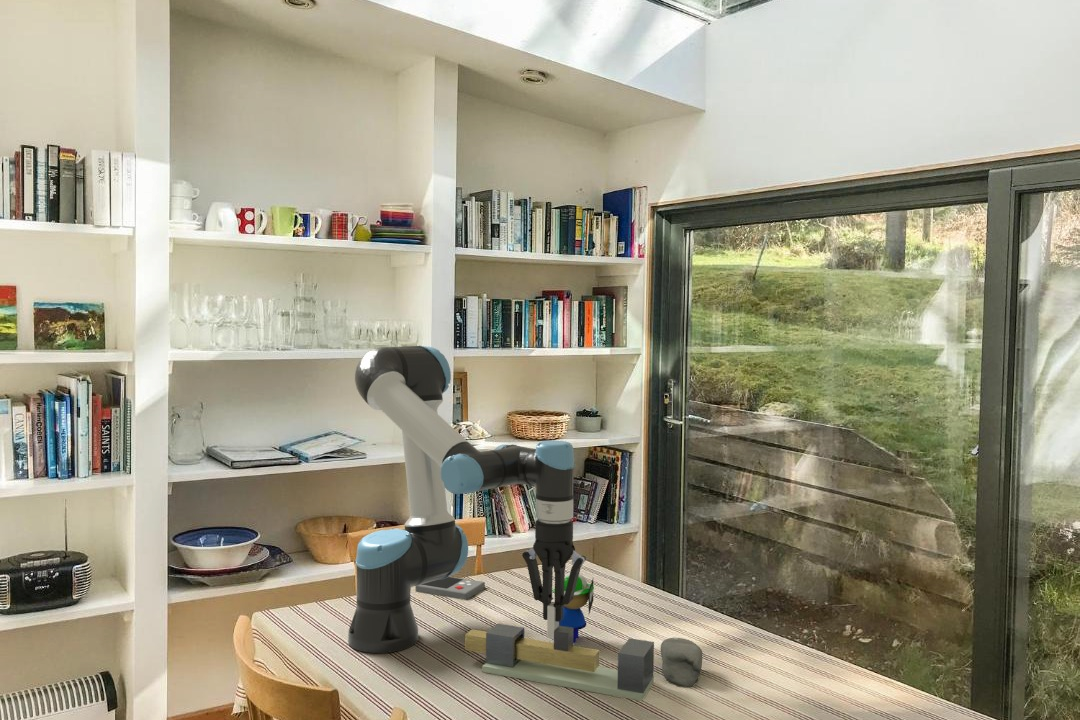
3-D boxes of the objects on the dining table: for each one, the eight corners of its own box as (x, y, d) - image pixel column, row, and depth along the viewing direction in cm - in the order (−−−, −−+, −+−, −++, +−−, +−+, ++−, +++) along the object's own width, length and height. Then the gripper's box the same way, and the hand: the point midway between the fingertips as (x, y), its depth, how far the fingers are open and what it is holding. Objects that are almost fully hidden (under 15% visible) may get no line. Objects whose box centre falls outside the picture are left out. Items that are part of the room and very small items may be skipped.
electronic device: (466, 592, 214) (415, 584, 220) (466, 602, 214) (414, 593, 220) (485, 581, 224) (435, 573, 230) (485, 590, 224) (435, 582, 230)
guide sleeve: (485, 663, 173) (486, 633, 172) (497, 652, 178) (497, 623, 178) (512, 667, 171) (513, 637, 170) (524, 657, 176) (524, 627, 176)
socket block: (617, 689, 162) (618, 652, 161) (628, 672, 169) (629, 638, 169) (643, 693, 160) (643, 657, 159) (653, 676, 167) (654, 641, 167)
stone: (652, 683, 167) (658, 630, 171) (659, 687, 175) (664, 636, 179) (698, 690, 164) (703, 636, 168) (703, 694, 172) (708, 642, 176)
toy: (590, 648, 184) (591, 580, 183) (548, 644, 186) (549, 577, 185) (595, 633, 193) (596, 568, 192) (555, 630, 195) (556, 565, 194)
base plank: (482, 671, 171) (482, 666, 171) (500, 655, 180) (500, 649, 180) (642, 700, 159) (642, 694, 159) (653, 681, 168) (653, 675, 168)
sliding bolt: (464, 649, 176) (465, 616, 176) (471, 644, 179) (471, 612, 178) (594, 672, 166) (594, 637, 165) (599, 665, 169) (599, 631, 168)
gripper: (516, 520, 168) (515, 637, 169) (579, 526, 163) (577, 647, 164) (531, 512, 175) (529, 625, 176) (591, 518, 170) (589, 634, 171)
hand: (552, 636), depth 170 cm, fingers closed
